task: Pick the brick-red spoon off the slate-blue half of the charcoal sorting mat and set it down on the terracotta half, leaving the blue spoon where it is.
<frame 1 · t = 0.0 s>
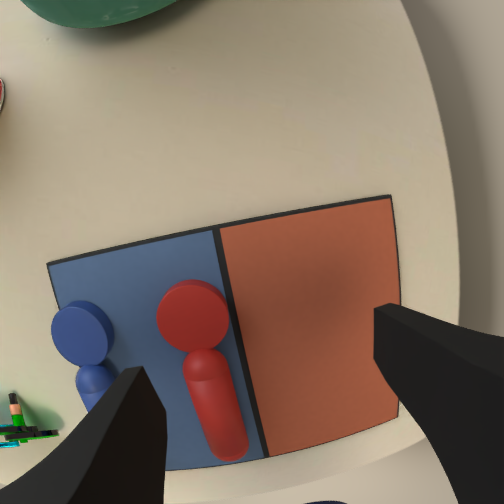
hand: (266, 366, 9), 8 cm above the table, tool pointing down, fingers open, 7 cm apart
blue spoon: (107, 386, 16), resting on sorting mat
toy office chair: (3, 403, 16), on the table, touching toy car
red spoon: (210, 373, 17), resting on sorting mat
sorting mat: (244, 363, 17), on the table
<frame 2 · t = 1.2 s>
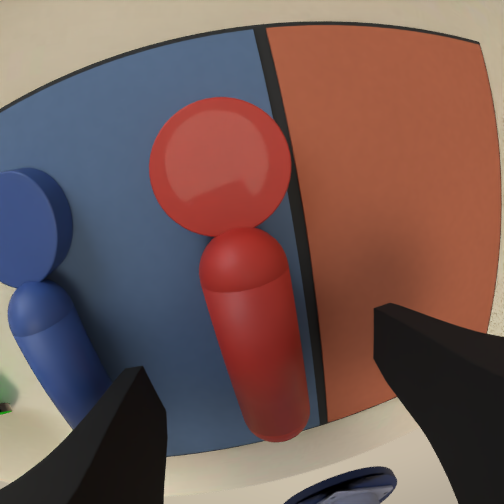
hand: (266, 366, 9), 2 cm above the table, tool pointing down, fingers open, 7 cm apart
blue spoon: (67, 325, 9), resting on sorting mat
red spoon: (246, 286, 10), resting on sorting mat
sorting mat: (302, 266, 11), on the table
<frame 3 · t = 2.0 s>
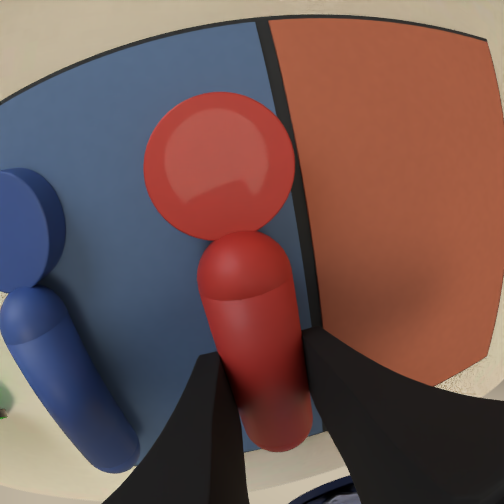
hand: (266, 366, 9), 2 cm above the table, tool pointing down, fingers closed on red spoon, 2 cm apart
blue spoon: (61, 331, 9), resting on sorting mat
red spoon: (246, 292, 9), resting on sorting mat, touching gripper
sorting mat: (306, 270, 10), on the table
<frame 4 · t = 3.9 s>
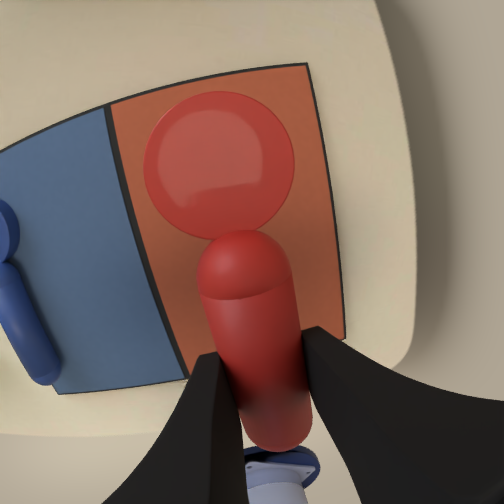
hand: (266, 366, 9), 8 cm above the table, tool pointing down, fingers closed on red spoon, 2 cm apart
blue spoon: (19, 290, 15), resting on sorting mat
red spoon: (246, 291, 9), point 7 cm above the table, touching gripper
sorting mat: (145, 255, 16), on the table
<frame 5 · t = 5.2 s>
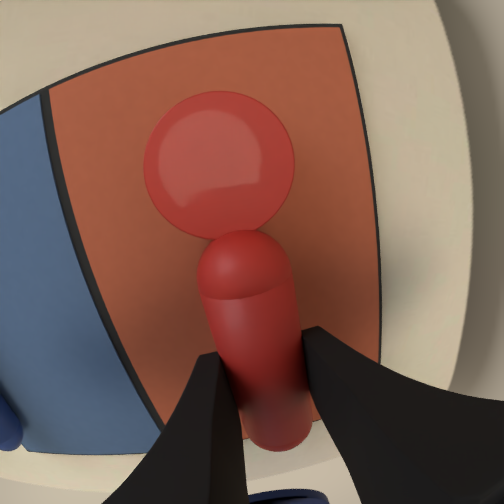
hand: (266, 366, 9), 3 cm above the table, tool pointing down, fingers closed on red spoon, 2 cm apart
red spoon: (246, 291, 9), point 1 cm above the table, touching gripper
sorting mat: (107, 306, 10), on the table
when the fingers open (2 cm above the table, at t = 5.7 s): red spoon stays where it is, resting on sorting mat.
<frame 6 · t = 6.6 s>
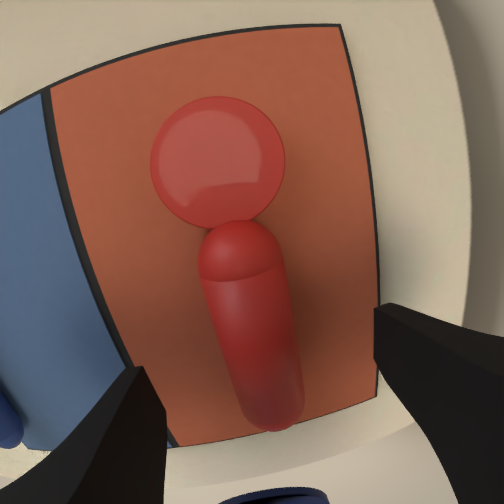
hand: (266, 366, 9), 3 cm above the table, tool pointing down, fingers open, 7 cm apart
red spoon: (242, 278, 10), resting on sorting mat
sorting mat: (107, 304, 10), on the table
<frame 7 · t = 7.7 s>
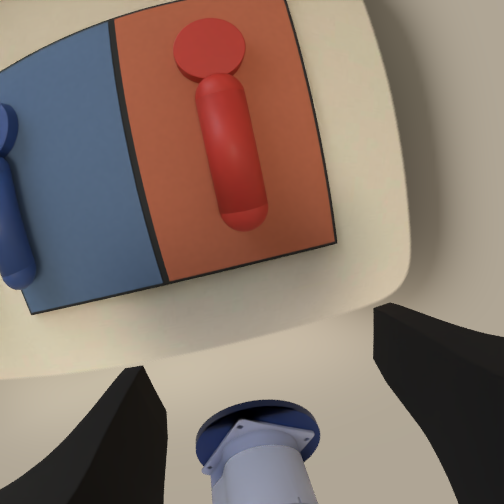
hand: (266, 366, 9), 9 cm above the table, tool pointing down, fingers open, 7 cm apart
blue spoon: (7, 190, 14), resting on sorting mat
red spoon: (222, 118, 15), resting on sorting mat
sorting mat: (132, 143, 15), on the table
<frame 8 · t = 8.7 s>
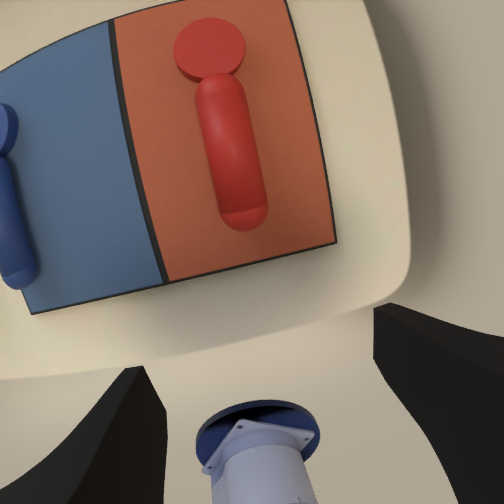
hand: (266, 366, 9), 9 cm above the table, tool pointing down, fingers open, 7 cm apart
blue spoon: (7, 190, 14), resting on sorting mat
red spoon: (222, 118, 15), resting on sorting mat
sorting mat: (132, 143, 15), on the table
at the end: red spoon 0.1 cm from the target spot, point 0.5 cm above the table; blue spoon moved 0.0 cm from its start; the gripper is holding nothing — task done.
